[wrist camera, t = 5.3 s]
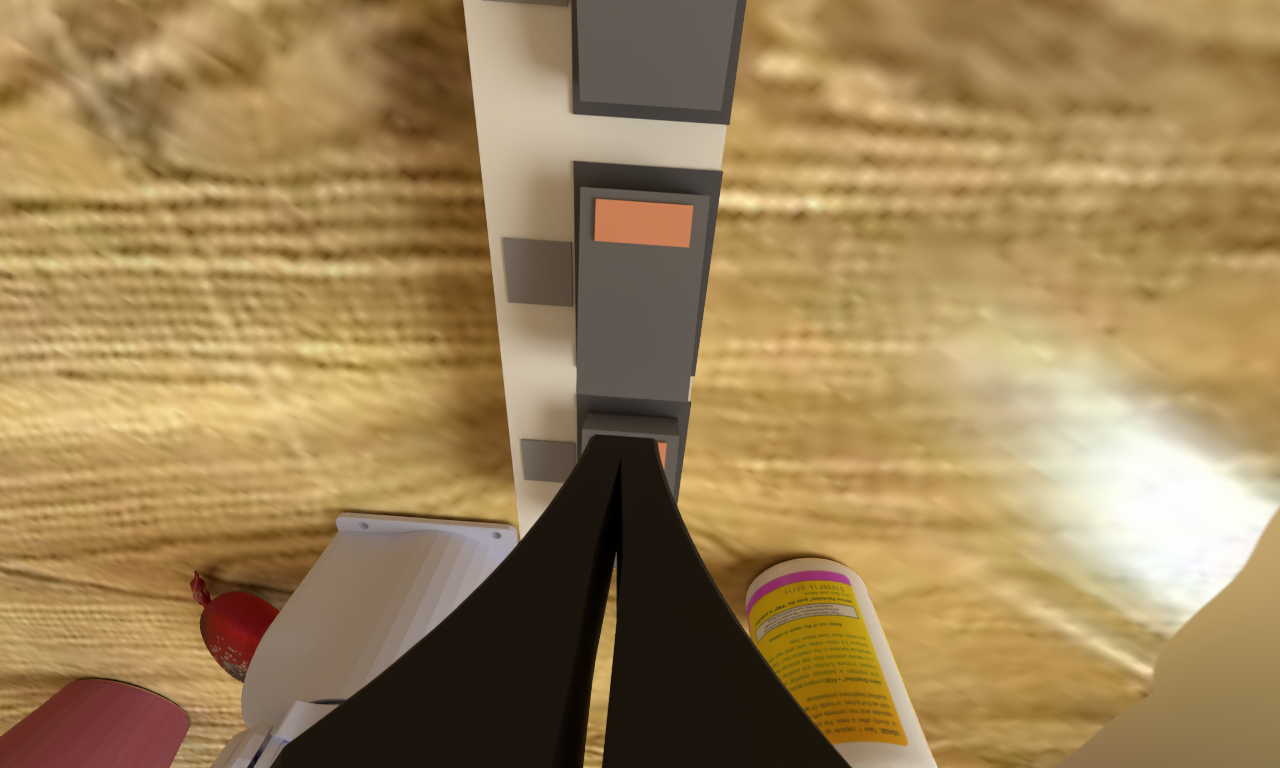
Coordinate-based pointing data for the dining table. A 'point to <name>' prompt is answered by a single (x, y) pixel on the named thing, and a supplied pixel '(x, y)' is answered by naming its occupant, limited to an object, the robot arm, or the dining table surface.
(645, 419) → the block
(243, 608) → the decorative bird figurine
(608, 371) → the rocker
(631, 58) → the rocker
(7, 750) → the plant pot
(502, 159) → the rocker switch panel
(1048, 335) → the dining table surface
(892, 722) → the supplement bottle
